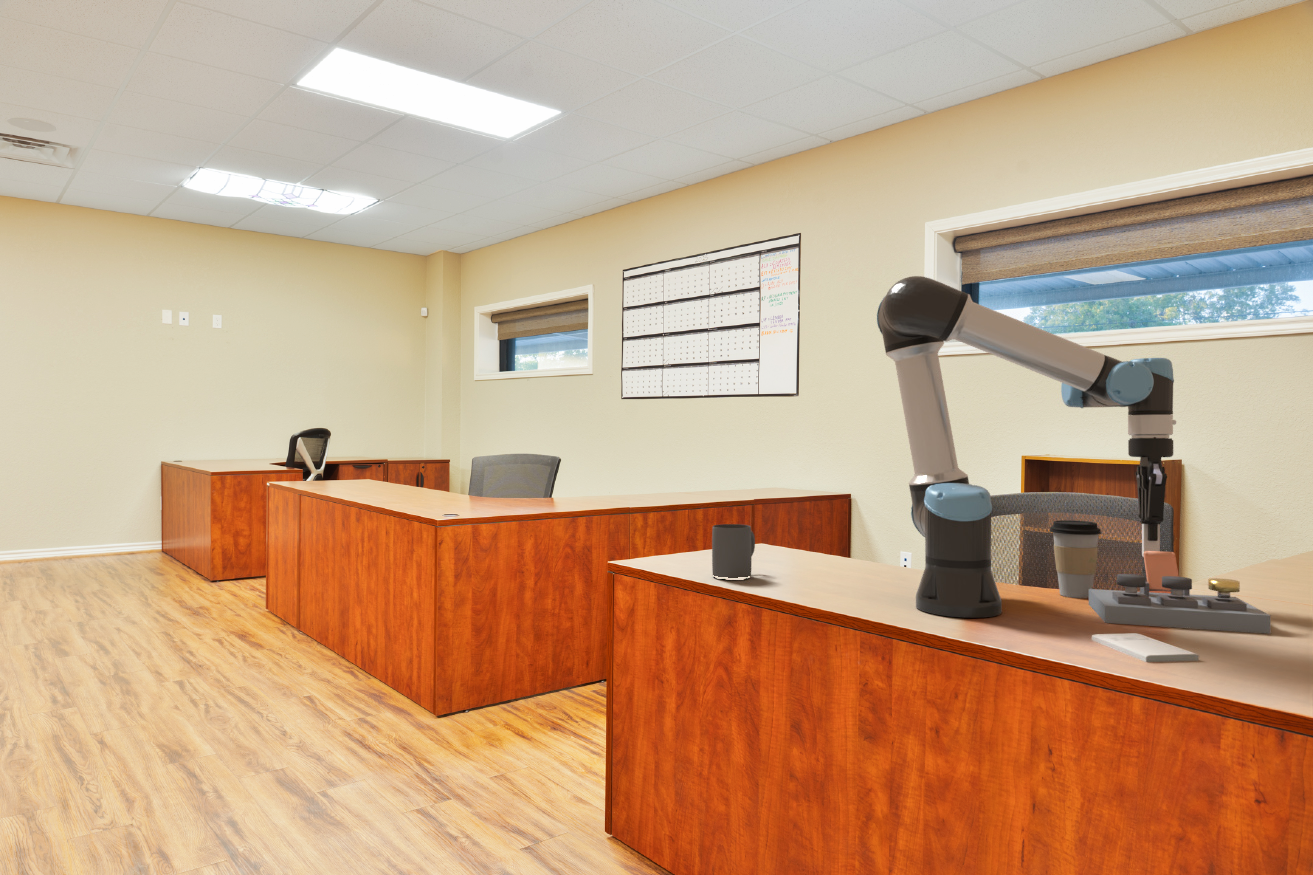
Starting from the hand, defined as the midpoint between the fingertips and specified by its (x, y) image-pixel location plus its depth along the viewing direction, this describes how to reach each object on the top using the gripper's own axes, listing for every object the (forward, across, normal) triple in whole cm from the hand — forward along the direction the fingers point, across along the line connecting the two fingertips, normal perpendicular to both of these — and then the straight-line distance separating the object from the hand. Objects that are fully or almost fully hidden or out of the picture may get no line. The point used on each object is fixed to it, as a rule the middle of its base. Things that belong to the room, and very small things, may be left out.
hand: (1150, 556), depth 155 cm
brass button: (+4, -18, -7) cm, 19 cm away
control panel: (+9, -14, 0) cm, 17 cm away
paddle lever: (+5, -10, 0) cm, 11 cm away
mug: (+9, +3, +84) cm, 84 cm away
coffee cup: (+9, +3, +13) cm, 16 cm away
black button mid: (+4, -18, 0) cm, 18 cm away
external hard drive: (+10, -40, +10) cm, 43 cm away
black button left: (+4, -18, +7) cm, 19 cm away
